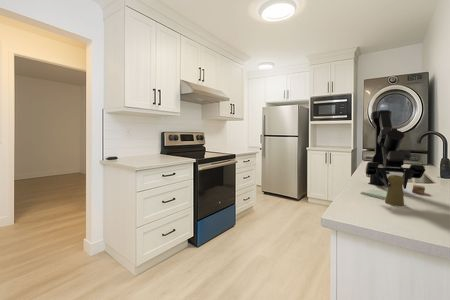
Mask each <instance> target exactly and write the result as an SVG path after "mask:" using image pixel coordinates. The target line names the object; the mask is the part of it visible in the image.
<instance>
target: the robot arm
mask: <svg viewBox="0 0 450 300" xmlns="http://www.w3.org/2000/svg"><path fill="white" fill-rule="evenodd" d="M392 112H393V111H391V110H390V109H380V110H373V111H372V112H371V114H370V120H371V123H372V125H373V126H374V128H375V129H374V155H373V156H372V157H371V159H370V161H369V162H367V163H366V166H365V175H367V176H368V175H369V176H370V177H369V182H368V183H367V184H368V185H372V186H378V187H383V186H384V187H385V188H387V187H389V182H388V175H390V173H397V174H399V173H400V174H402V176H401V177H403V178H404V180H405V181H404V184H403V185H402V187H403V188H404V189H407V185H408V182H409V180H411V179H421V178H422V177H423V175H424V174H425V172H426V167H425V166H424V165H423V164H410V166H409V167H403V166H404V164H405V162H404V161H406V160H407V161H409V160H410V159H411V158H412V155H411V151H410V150H403V151H402V150H399V149H400V148H401V147H402V144H403V142H404V138H405V133H404V132H403V131H401V130H398V128H396V127H395V128H393V125H392Z"/></svg>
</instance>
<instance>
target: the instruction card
mask: <svg viewBox="0 0 450 300" xmlns="http://www.w3.org/2000/svg"><path fill="white" fill-rule="evenodd" d="M384 190H385V191H386V190H387V191H388V187H385V188H384ZM404 193H405V194H411V195H417V193H412V189H408V188H406V189H404V188H403V194H404Z"/></svg>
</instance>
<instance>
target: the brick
mask: <svg viewBox="0 0 450 300" xmlns="http://www.w3.org/2000/svg"><path fill="white" fill-rule="evenodd" d="M411 190H412V193H417V194H418V195H425V191H426V187H425V186H424V185H417V184H413V186H412V189H411ZM417 194H416V195H417Z"/></svg>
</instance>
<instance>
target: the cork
mask: <svg viewBox="0 0 450 300" xmlns="http://www.w3.org/2000/svg"><path fill="white" fill-rule="evenodd" d="M387 178H388V182H389V187H388V190H387V191H386V192H387V195H386V200H385V199H384V200H385V201H384V203H385V204H388V205H390V206H395V207H397V206H398V207H404V206H405V199H404V198H405V197H404V192H403V184H404V181H405V180H404V178H403V177H402V176H401V175H396V174H395V175H394V174H393V175H392V174H391V175H389V176H387Z"/></svg>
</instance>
